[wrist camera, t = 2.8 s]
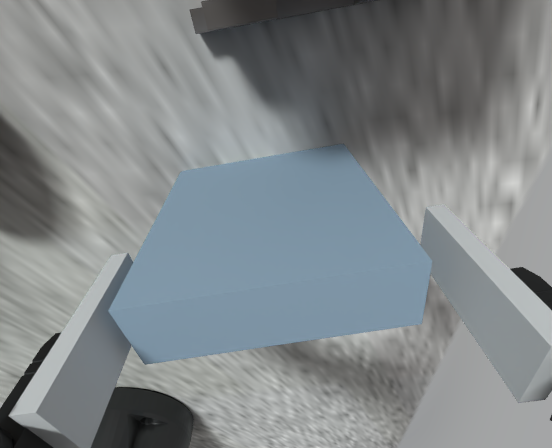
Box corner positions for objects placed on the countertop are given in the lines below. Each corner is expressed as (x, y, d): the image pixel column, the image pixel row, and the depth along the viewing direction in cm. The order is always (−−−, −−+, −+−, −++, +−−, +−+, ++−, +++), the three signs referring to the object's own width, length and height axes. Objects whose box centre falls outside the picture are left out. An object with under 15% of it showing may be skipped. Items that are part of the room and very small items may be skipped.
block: (345, 198, 22) (418, 339, 12) (199, 222, 23) (154, 378, 13) (343, 143, 20) (432, 261, 10) (181, 171, 20) (108, 311, 10)
